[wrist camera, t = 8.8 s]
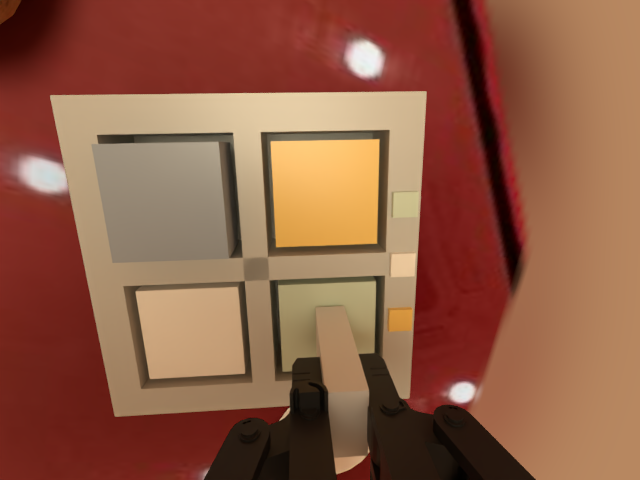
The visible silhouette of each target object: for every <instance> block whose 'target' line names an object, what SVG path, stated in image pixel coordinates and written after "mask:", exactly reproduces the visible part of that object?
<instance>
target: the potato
mask: <svg viewBox="0 0 640 480" xmlns="http://www.w3.org/2000/svg"><path fill="white" fill-rule="evenodd" d="M20 2H21V0H0V24H1V23H3V22H4V21H6V20H7V19H8V18H10V17H11V16H13V15H14V13H15V11H16V9H17V7H18V6H19V4H20Z"/></svg>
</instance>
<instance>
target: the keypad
mask: <svg viewBox="0 0 640 480" xmlns="http://www.w3.org/2000/svg"><path fill="white" fill-rule="evenodd" d="M426 93H427V91H421V92H324V93H227V94H130V95H50V98H51V103H52V108H53V113H54V118H55V123H56V128H57V133H58V138H59V143H60V148H61V153H62V158H63V163H64V168H65V173H66V178H67V182H68V187H69V192H70V197H71V202H72V207H73V212H74V217H75V222H76V227H77V232H78V237H79V242H80V247H81V252H82V257H83V262H84V267H85V272H86V277H87V282H88V287H89V292H90V297H91V301H92V306H93V311H94V316H95V321H96V326H97V331H98V336H99V341H100V346H101V351H102V356H103V361H104V366H105V371H106V376H107V381H108V386H109V391H110V396H111V401H112V406H113V411H114V416H115V417H120V416H136V415H152V414H168V413H184V412H200V411H216V410H232V409H248V408H264V407H280V406H290V397H289V393H290V390H291V388H292V371H287V372H283V369H282V350H281V331H280V312H279V293H278V282H279V280H286V279H310V278H334V277H358V276H373V277H374V279H375V280H376V308H375V349H374V353H377V354H378V355H380V356H381V357H382V358H383V359H384V361H385V363H386V365H387V369H388V370H389V373H390V375H391V378H392V380H393V383H394V385H395V387H396V390H397V392H398V395H399V397H400V398H401V399H408V398H410V382H411V364H412V346H413V328H414V310H415V292H416V274H417V256H418V238H419V220H420V202H421V184H422V166H423V147H424V129H425V111H426ZM368 139H380V140H379V182H378V223H377V244H354V245H326V246H298V247H276V236H275V217H274V198H273V179H272V160H271V141H313V140H368ZM178 142H230V150H231V162H232V174H233V187H234V199H235V211H236V223H237V236H238V244H237V246H236V248H235V249H234V251H233V253H232V254H231V256H230V258H229V259H207V260H180V261H154V262H127V263H112V257H111V251H110V246H109V240H108V235H107V229H106V224H105V218H104V212H103V207H102V201H101V196H100V190H99V185H98V179H97V173H96V168H95V162H94V157H93V151H92V146H91V144H123V143H178ZM238 281H245V291H246V304H247V316H248V329H249V342H250V355H249V359H248V364H247V368H246V373H245V374H231V375H213V376H195V377H178V378H160V379H150V377H149V371H148V365H147V359H146V353H145V347H144V341H143V335H142V329H141V323H140V317H139V311H138V304H137V298H136V292H135V291H136V290H137V289H139V288H140V287H141V286H142V285H165V284H189V283H213V282H238Z"/></svg>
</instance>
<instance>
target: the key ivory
mask: <svg viewBox="0 0 640 480" xmlns="http://www.w3.org/2000/svg"><path fill="white" fill-rule="evenodd" d="M135 292H136V298H137V304H138V311H139V317H140V323H141V329H142V335H143V341H144V347H145V353H146V359H147V365H148V371H149V377H150V379H160V378H178V377H195V376H213V375H231V374H245V373H246V368H247V364H248V359H249V355H250V342H249V329H248V316H247V304H246V291H245V281H238V282H213V283H189V284H165V285H142V286H141V287H140V288H139V289H137V290H136V291H135Z"/></svg>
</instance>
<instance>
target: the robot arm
mask: <svg viewBox="0 0 640 480" xmlns="http://www.w3.org/2000/svg"><path fill="white" fill-rule="evenodd" d="M315 313H316V354H317V357H306V358H297V359H296V360H295V362H294V363H293V365H292V388H291V390H290V393H289V397H290V412H289V414H288V415H287V416H286V417H285V418H283V419H282V420H281V421H278V422H276V423H273V424H270V425H268V424H267V423H266V422H265V421H264V420H262V419H258V418H248V419H245V420H242V421H240V422H238V423H237V424H235V425H234V426H233V428H232V429H231V430H230V432H229V434H228V436H227V437H226V439H225V441H224V443H223V445H222V447H221V449H220V450H219V452H218V454H217V456H216V458H215V460H214V462H213V463H212V465H211V467H210V469H209V471H208V473H207V475H206V476H205V478H204V480H337V477H336V469H335V461H334V458H339V457H354V456H368V447H369V451H370V455H371V464H370V480H536V479H534V477H533V476H531V474H530V473H529V472H528V471H526V470H525V468H524V467H523V466H522V465H520V463H519V462H518V461H517V460H516V459H514V457H513V456H512V455H511V454H510V453H509V452H508V451H507V450H506V449H505V448H504V447H503V446H502V445H501V444H500V443H499V442H498V441H497V440H496V439H495V438H494V437H493V436H492V435H491V434H490V433H489V432H488V431H487V430H486V429H485V428H484V427H483V426H482V425H481V424H480V423H479V422H478V421H477V420H476V419H475V418H474V417H473V416H472V415H471V414H470V413H469V412H467V411H466V410H465V409H463V408H460V407H458V406H454V405H442V406H440V407H438V408H436V410H435V411H434V415H432V414H426V413H421V412H417V411H414V410H412V409H410V407H409V405H408V404H407V403H406V401H404V400H403V399H401V398H400V397H399V395H398V392H397V390H396V387H395V385H394V383H393V380H392V378H391V375H390V373H389V370H388V369H387V365H386V363H385V361H384V359H383V358H382V357H381V356H380V355H378V354H377V353H366V354H358V351H357V348H356V344H355V341H354V338H353V334H352V331H351V327H350V324H349V321H348V317H347V314H346V311H345V307H344V306H331V307H315Z"/></svg>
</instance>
